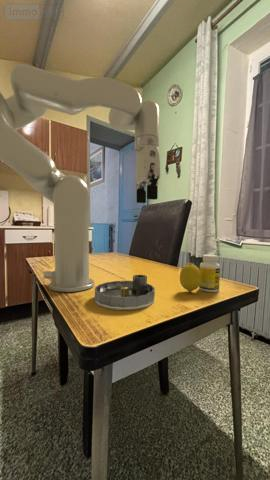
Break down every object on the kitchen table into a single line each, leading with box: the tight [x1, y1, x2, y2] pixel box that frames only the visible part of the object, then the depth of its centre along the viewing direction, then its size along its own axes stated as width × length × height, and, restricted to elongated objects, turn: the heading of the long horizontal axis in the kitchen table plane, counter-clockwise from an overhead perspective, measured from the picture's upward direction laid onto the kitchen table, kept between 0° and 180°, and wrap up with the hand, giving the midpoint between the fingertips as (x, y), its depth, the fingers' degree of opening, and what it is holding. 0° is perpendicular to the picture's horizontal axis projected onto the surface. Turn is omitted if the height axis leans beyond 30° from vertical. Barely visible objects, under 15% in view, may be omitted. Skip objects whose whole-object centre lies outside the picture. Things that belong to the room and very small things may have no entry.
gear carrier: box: [94, 280, 156, 312], centre depth 52 cm, size 14×14×5 cm
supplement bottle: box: [198, 254, 221, 293], centre depth 61 cm, size 5×5×10 cm
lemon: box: [179, 262, 201, 293], centre depth 58 cm, size 6×6×8 cm
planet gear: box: [131, 274, 148, 296], centre depth 53 cm, size 4×4×4 cm
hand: (146, 201), depth 69 cm, fingers open, 9 cm apart
